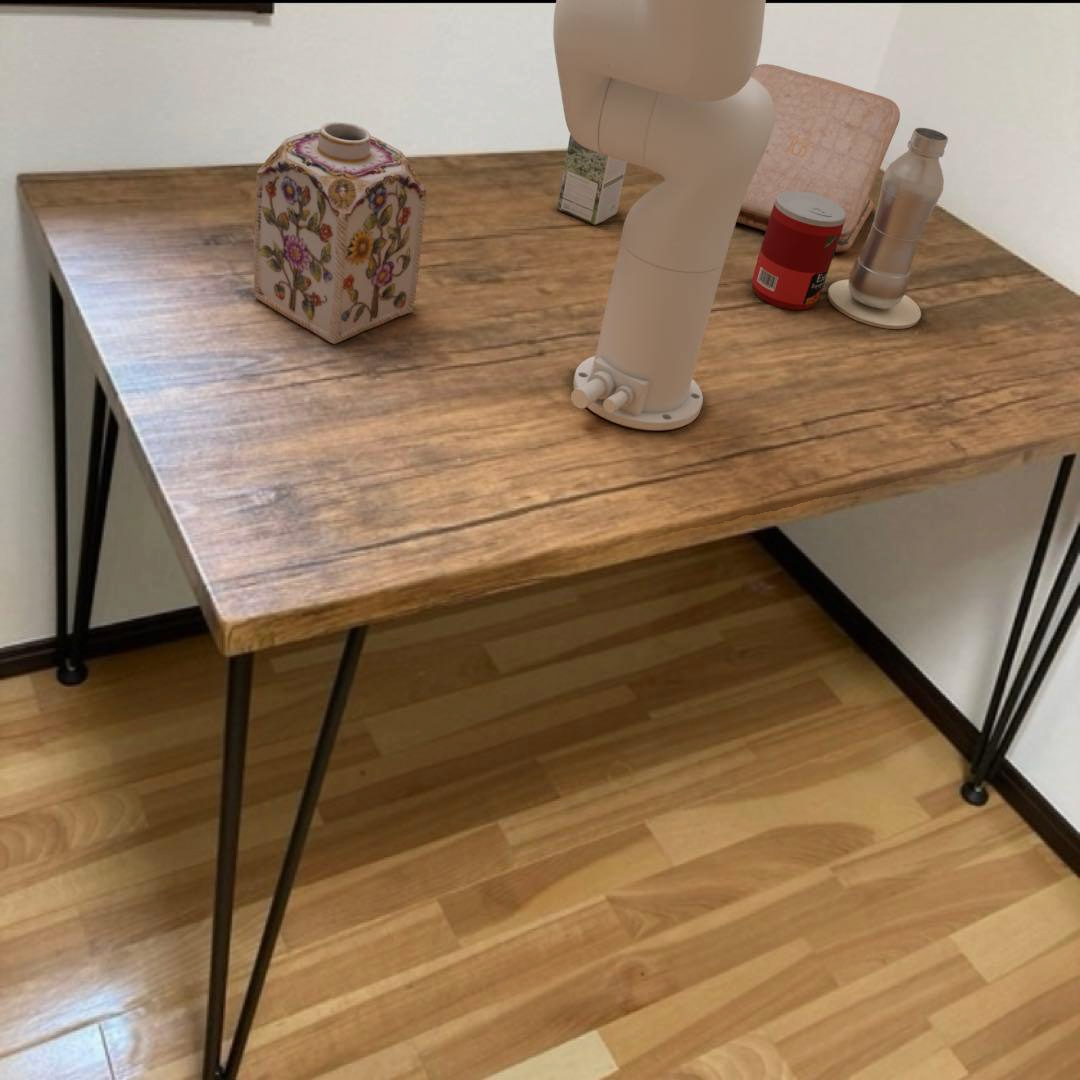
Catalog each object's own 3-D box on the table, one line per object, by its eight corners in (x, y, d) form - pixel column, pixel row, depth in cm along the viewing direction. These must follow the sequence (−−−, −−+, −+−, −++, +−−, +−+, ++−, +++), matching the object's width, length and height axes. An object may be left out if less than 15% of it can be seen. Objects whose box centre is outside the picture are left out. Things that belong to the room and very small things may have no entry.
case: (688, 212, 158) (720, 86, 148) (734, 164, 174) (765, 47, 164) (843, 263, 154) (885, 136, 144) (875, 209, 170) (916, 91, 160)
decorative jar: (249, 298, 123) (253, 119, 112) (334, 267, 131) (345, 98, 120) (335, 349, 118) (347, 167, 107) (418, 313, 126) (437, 141, 115)
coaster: (899, 339, 140) (900, 335, 139) (812, 301, 144) (813, 297, 143) (933, 309, 147) (934, 305, 147) (849, 273, 151) (850, 270, 151)
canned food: (816, 317, 140) (846, 227, 134) (747, 300, 141) (773, 209, 134) (818, 289, 147) (847, 201, 140) (752, 272, 147) (778, 184, 140)
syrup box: (618, 214, 154) (643, 97, 145) (593, 227, 150) (617, 108, 141) (579, 197, 156) (601, 82, 147) (554, 210, 152) (575, 91, 143)
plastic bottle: (888, 321, 142) (952, 151, 129) (834, 299, 144) (892, 130, 132) (906, 303, 146) (970, 138, 134) (854, 282, 148) (911, 117, 136)
